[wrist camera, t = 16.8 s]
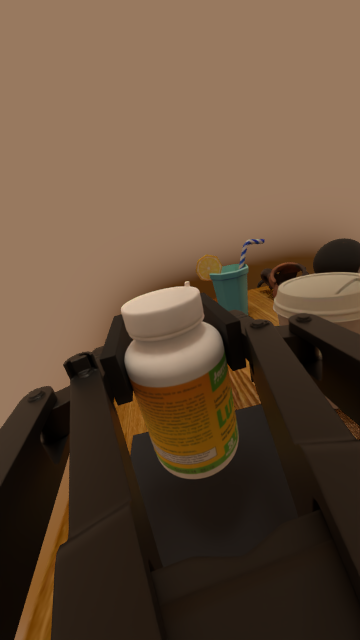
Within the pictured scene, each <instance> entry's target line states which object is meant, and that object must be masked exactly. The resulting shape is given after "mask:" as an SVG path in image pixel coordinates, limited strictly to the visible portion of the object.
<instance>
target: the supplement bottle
mask: <svg viewBox="0 0 360 640" xmlns="http://www.w3.org/2000/svg"><path fill="white" fill-rule="evenodd" d="M121 313H122V316H123V320H124V323H125V327H126V330H127V332H128V333H129V336H130V337H131V338H132V339H134V340H133V341H132V342H131V344H130V345H129V346H128V348H127V350H126V353H125V360H124V362H125V367H126V371H127V374H128V377H129V380H130V383H131V386H132V388H133V391H134V393H135V396H136V399H137V402H138V404H139V407H140V410H141V413H142V415H143V418H144V421H145V424H146V427H147V429H148V432H149V435H150V438H151V441H152V443H153V446H154V449H155V452H156V454H157V457H158V459H159V461H160V462H161V464H162V465H163V466H164V467H165V468H166V469H167V470H168V471H169V472H170V473H172V474H174V475H176V476H178V477H181V478H186V479H201V478H205V477H209V476H211V475H213V474H215V473H217V472H219V471H220V470H222V469H223V468H224V467H225V466H226V465H228V463H229V462H230V461H231V460H232V458H233V456H234V455H235V452H236V450H237V447H238V440H239V434H238V426H237V420H236V414H235V408H234V402H233V396H232V389H231V384H230V378H229V372H228V367H227V361H226V355H225V349H224V345H223V340H222V337H221V335H220V333H219V332H218V330H217V329H216V328H214V327H213V326H212V325H210V324H208V323H206V322H203V319H204V313H203V306H202V301H201V296H200V292H199V290H198V289H197V288H194V287H173V288H167V289H162V290H157V291H153V292H150V293H147V294H144V295H141V296H138V297H136V298H134V299H132V300H130V301H128V302H127V303H125V304H124V305H123V306H122V308H121Z"/></svg>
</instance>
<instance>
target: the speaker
mask: <svg viewBox="0 0 360 640" xmlns="http://www.w3.org/2000/svg"><path fill="white" fill-rule="evenodd" d="M313 268H314V271H315V274H319V273H330V272H350V273H358V270H359V268H360V243H359V242H357V241H355V240H351V239H337V240H333V241H331V242H329V243H327V244H325V245H324V246H323V247H322V248H321V249H320V250H319V251H318V252H317V254H316V256H315V258H314V262H313Z"/></svg>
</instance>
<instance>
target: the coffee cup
mask: <svg viewBox="0 0 360 640" xmlns="http://www.w3.org/2000/svg"><path fill="white" fill-rule="evenodd" d="M273 309H274V311H275V312H276V313H277V314H278V319H279V325H280V326H283V325H289V321H288V319H289V317H290V316H292V315H295V314H299V313H307V314H314V315H317V316H319V317H321V318H324V319H326V320H328V321H330V322H333V323H335V324H337V325H340V326H342V327H344V328H347V329H349V330H351V331H353V332H356V333H358V334H360V273H350V272H330V273H319V274H311V275H305V276H301V277H297V278H293V279H290V280H287V281H285V282H283V283H282V284H281V285H279V287H278V291H277V295H276V297H275V299H274V305H273ZM319 355H320V356H321V357H322V354H321V352H320V351H319ZM325 397H326V396H325ZM326 399H327V400H328V401H329V403H330V404H331V406H332V407H333V408H334V409H339V408H338V407H337V406H336V405H335V404H334V403H332V402H331V401H330V400H329V399H328V398H327V397H326Z"/></svg>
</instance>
